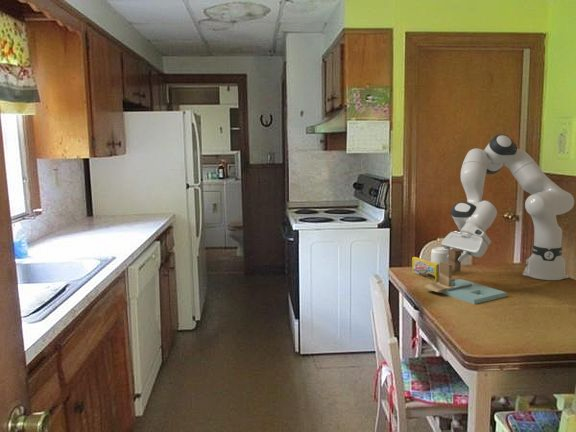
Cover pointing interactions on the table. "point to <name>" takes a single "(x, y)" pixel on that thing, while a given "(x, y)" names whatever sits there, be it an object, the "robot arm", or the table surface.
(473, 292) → the puzzle board
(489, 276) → the table surface
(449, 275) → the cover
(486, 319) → the table surface
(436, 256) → the beverage can
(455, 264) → the walnut block
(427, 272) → the candy box
